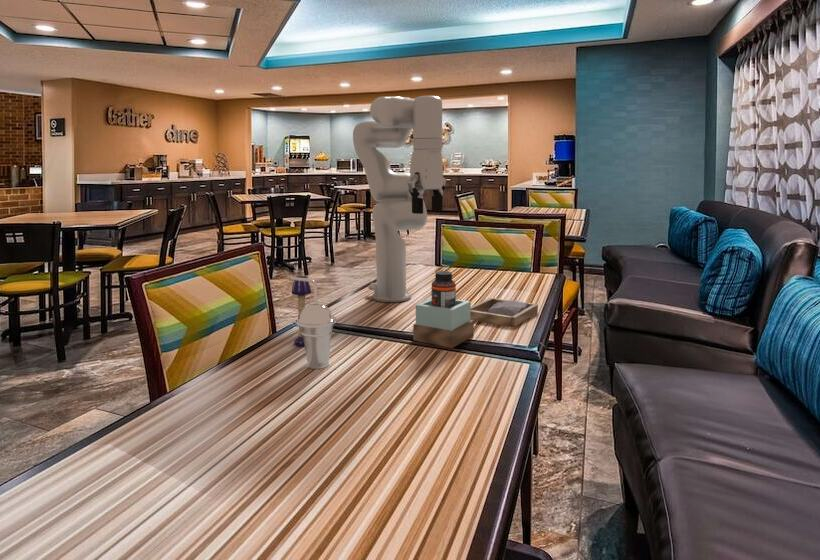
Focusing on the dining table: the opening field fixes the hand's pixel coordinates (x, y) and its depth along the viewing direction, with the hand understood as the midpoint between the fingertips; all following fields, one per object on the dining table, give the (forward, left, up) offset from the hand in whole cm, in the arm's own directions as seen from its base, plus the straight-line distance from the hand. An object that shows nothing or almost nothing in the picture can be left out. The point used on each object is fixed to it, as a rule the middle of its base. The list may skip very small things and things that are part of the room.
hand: (427, 212), depth 145 cm
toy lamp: (-15, -33, -30) cm, 47 cm away
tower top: (+12, -11, -26) cm, 31 cm away
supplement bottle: (+12, -11, -25) cm, 30 cm away
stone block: (+16, +17, -31) cm, 39 cm away
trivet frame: (+15, +16, -30) cm, 37 cm away
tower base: (+12, -11, -31) cm, 34 cm away
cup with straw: (-2, -42, -30) cm, 52 cm away
